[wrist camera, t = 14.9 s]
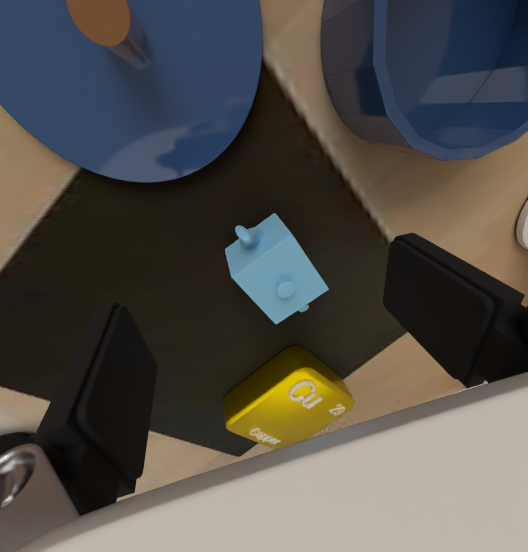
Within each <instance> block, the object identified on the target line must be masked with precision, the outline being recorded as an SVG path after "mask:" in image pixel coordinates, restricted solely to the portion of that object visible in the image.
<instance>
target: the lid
mask: <svg viewBox="0 0 528 552" xmlns="http://www.w3.org/2000/svg"><path fill="white" fill-rule="evenodd" d="M262 50H263V46H262V19H261V10H260V2H259V0H0V104H1V106H2V107H3V108H4V109H5V110H6V111H7V112H8V113H9V114H10V115H11V116H12V117H13V118H14V119H15V120H16V121H17V122H18V123H19V124H20V125H21V126H22V127H23V128H24V129H25V130H26V131H28V132H29V133H30V134H31V135H32V136H34V137H35V138H36V139H37V140H38V141H40V142H41V143H42V144H44V145H45V146H47V147H48V148H50V149H51V150H52V151H54V152H55V153H57V154H58V155H60V156H62V157H63V158H65V159H67V160H69V161H71V162H72V163H74V164H76V165H78V166H80V167H83V168H85V169H87V170H89V171H92V172H94V173H97V174H100V175H103V176H107V177H110V178H113V179H119V180H124V181H129V182H142V183H150V182H163V181H168V180H173V179H177V178H180V177H183V176H186V175H189V174H191V173H193V172H195V171H197V170H199V169H201V168H203V167H205V166H206V165H207V164H209V163H210V162H212V161H213V160H215V159H216V158H217V157H218V156H219V155H220V154H221V153H222V152H223V151H224V150H225V149H226V148H227V147H228V146H229V145H230V143H231V142H232V141H233V140H234V138H235V137H236V136H237V134H238V132H239V131H240V129H241V127H242V126H243V124H244V122H245V120H246V118H247V116H248V114H249V111H250V109H251V107H252V104H253V100H254V97H255V94H256V91H257V87H258V82H259V77H260V72H261V61H262Z"/></svg>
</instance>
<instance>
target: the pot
mask: <svg viewBox="0 0 528 552" xmlns="http://www.w3.org/2000/svg"><path fill="white" fill-rule="evenodd" d="M321 57H322V65H323V72H324V77H325V81H326V86H327V89H328V92H329V94H330V97H331V100H332V102H333V104H334V106H335V108H336V110H337V112H338V114H339V116H340V117H341V118H342V120H343V121H344V123H345V124H346V125H347V126H348V127H349V128H350V129H351V131H352V132H353V133H355V134H356V135H357V136H359V137H360V138H361V139H362V140H365V141H367V142H369V143H371V144H373V145H377V146H379V147H382V148H384V149H387V150H391V151H396V152H401V153H406V154H410V155H415V156H420V157H425V158H430V159H434V160H439V161H452V160H465V159H477V158H480V157H482V156H484V155H486V154H488V153H490V152H492V151H495V150H497V149H499V148H501V147H503V146H505V145H507V144H510V143H512V142H514V141H516V140H517V139H519V138H520V137H521V136H522V135H524V134H525V133H526V132H527V131H528V0H324V5H323V11H322V23H321Z"/></svg>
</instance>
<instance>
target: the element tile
mask: <svg viewBox="0 0 528 552" xmlns="http://www.w3.org/2000/svg"><path fill="white" fill-rule="evenodd" d="M223 405H224V415H225V424H226V428H227V429H228V430H229V431H231V432H233V433H236V434H238V435H241V436H243V437H246V438H248V439H250V440H253V441H255V442H258V443H260V444H263V445H265V446H268V447H270V448H272V449H275V450H277V449H280V448H283V447H286V446H289V445H292V444H296V443H299V442H302V441H304V440H306V439H307V438H309V437H310V436H312V435H313V434H315V433H316V432H318V431H319V430H321V429H322V428H324V427H325V426H327V425H328V424H330V423H331V422H333V421H334V420H336V419H337V418H339V417H340V416H342V415H343V414H345V413H346V412H348V411H349V410H350V409H352V408H353V406H354V399H353V397H352V395H351V394H350V392H349V390H348V388H347V386H346V385H345V383H344V381H343V379H342V378H341V377H340V376H338V375H337V374H336V373H335V372H333V371H332V370H331V369H330V368H328V367H327V366H326V365H325V364H323V363H322V362H321V361H320V360H318V359H317V358H316V357H315V356H313V355H312V354H311V353H310V352H308V351H307V350H306V349H305V348H303V347H301V346H291V347H289V348H286V349H285V350H283V351H282V352H281V353H279V354H278V355H277V356H275V357H274V358H273V359H272V360H270V361H269V362H268V363H266V364H265V365H264V366H262V367H261V368H260V369H258V370H257V371H256V372H255V373H253V374H252V375H251V376H249V377H248V378H247V379H245V380H244V381H243V382H242V383H240V384H239V385H238V386H236V387H235V388H234V389H232V390H231V391H230V392H229V393H227V394H226V396H225V397H224V399H223Z"/></svg>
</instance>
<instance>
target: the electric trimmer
mask: <svg viewBox="0 0 528 552" xmlns="http://www.w3.org/2000/svg"><path fill="white" fill-rule="evenodd" d="M36 435H37V434H33V435H26V434H23V433H13V434H8V435H3V436H0V456H1V455H2V454H4V453H5V452H7V451H8V450H11V449H13V448H15V447H17V446H20V445H24V444H29V443H30V444H33V442H34V439H35V437H36Z"/></svg>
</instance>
